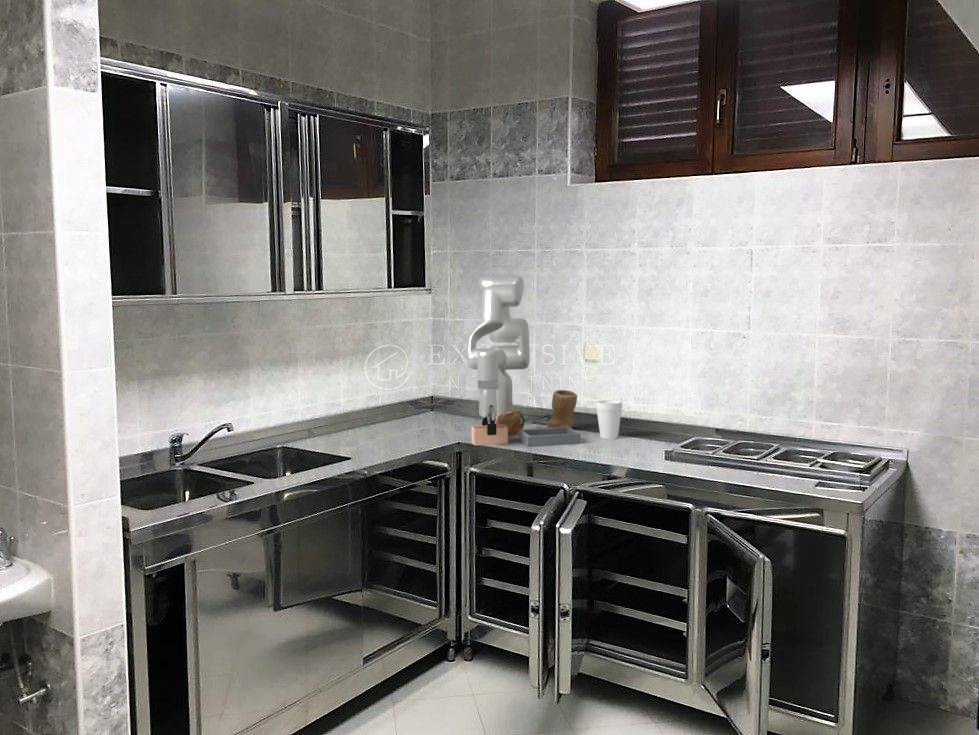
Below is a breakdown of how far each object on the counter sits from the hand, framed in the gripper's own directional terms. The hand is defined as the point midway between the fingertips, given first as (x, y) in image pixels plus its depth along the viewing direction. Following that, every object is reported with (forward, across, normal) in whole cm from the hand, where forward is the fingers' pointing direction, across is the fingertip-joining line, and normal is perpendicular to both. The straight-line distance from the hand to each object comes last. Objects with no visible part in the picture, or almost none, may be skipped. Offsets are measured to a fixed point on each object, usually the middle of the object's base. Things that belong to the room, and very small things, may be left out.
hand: (489, 432), depth 309 cm
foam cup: (+4, +2, +44) cm, 44 cm away
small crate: (+4, -1, 0) cm, 4 cm away
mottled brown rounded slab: (+4, -16, +11) cm, 20 cm away
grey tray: (+4, +3, +21) cm, 22 cm away
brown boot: (+3, -20, +33) cm, 38 cm away
